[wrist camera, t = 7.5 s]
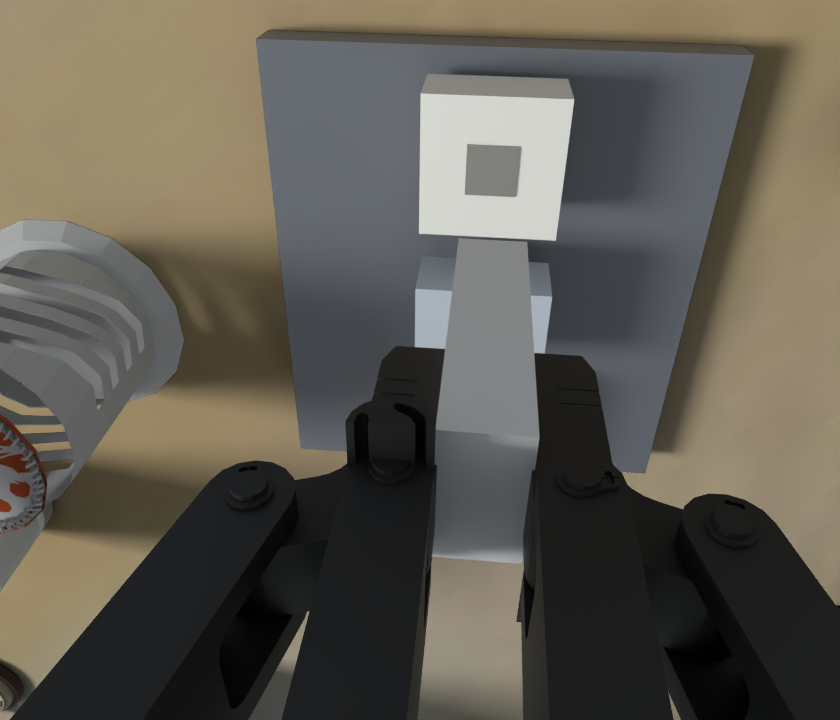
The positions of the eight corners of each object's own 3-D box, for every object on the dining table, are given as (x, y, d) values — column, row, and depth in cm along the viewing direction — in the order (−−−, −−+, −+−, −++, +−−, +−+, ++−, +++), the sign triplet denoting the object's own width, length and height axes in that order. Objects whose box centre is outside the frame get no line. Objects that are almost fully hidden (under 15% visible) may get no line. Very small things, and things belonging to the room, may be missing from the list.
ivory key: (564, 66, 24) (574, 99, 21) (549, 194, 27) (555, 241, 23) (431, 62, 25) (420, 94, 21) (429, 188, 27) (418, 234, 24)
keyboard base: (741, 45, 24) (754, 55, 23) (639, 451, 34) (645, 473, 33) (267, 30, 25) (255, 38, 24) (307, 427, 35) (300, 448, 34)
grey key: (546, 243, 27) (552, 297, 23) (533, 343, 29) (537, 405, 26) (425, 236, 27) (415, 289, 24) (423, 337, 30) (413, 397, 26)
